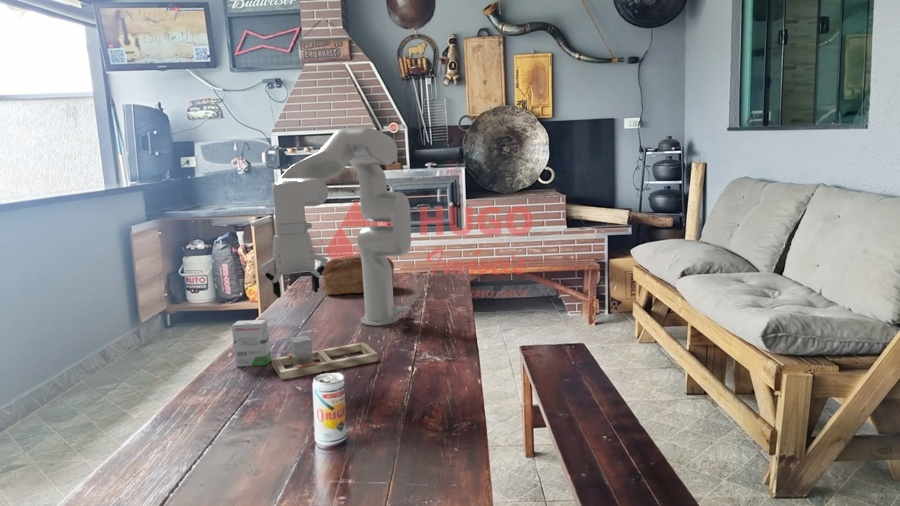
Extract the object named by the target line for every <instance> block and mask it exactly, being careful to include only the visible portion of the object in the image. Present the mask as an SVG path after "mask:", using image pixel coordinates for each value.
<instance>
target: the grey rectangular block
mask: <svg viewBox="0 0 900 506" xmlns="http://www.w3.org/2000/svg"><path fill="white" fill-rule="evenodd" d="M289 340H290V349H291V350H290V351H291V353H292V362H293V364H292V368H296V367H297V365H302V364H307V363H312V362H314V360H313V355H312V351H313V347H312V345H313V344H312V339H311V338H310V337H309V336H308V335H307V334H306V335H302V336H301V335H300V336H295V337H290V339H289Z"/></svg>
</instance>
